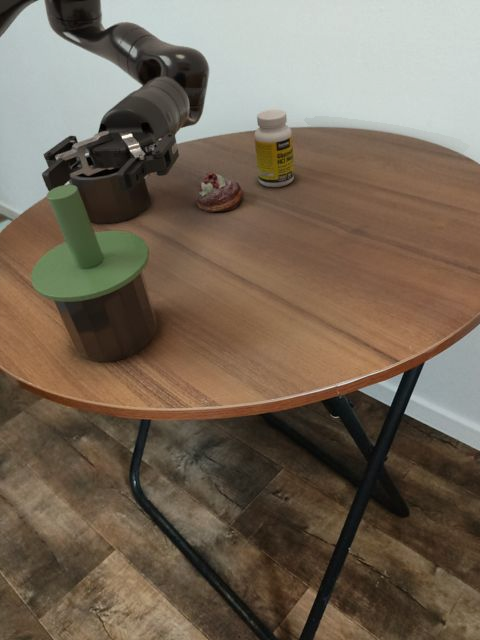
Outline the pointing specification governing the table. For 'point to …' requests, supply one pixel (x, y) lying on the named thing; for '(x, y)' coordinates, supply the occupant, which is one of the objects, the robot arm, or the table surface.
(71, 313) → the cup
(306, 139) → the table surface
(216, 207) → the pastry
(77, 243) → the lid
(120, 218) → the tin
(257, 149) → the pill bottle
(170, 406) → the table surface
